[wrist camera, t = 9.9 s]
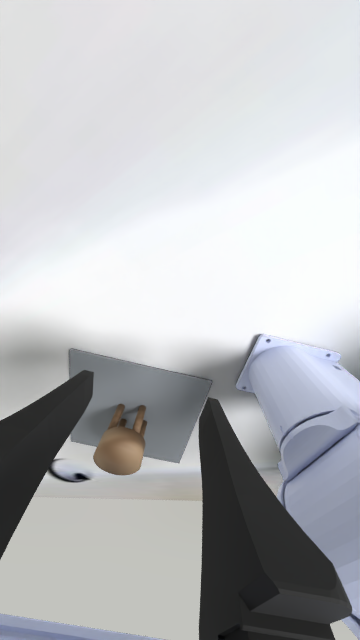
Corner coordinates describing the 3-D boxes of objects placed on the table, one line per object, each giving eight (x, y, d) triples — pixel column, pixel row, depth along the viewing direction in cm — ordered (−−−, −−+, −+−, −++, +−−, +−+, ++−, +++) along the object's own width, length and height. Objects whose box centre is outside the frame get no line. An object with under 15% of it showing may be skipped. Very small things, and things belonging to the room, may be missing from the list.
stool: (150, 401, 24) (139, 448, 19) (152, 428, 27) (142, 476, 21) (111, 399, 25) (89, 444, 19) (116, 425, 27) (97, 473, 21)
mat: (211, 380, 23) (211, 382, 23) (179, 460, 30) (179, 463, 30) (71, 348, 22) (69, 350, 22) (72, 438, 29) (70, 441, 29)
